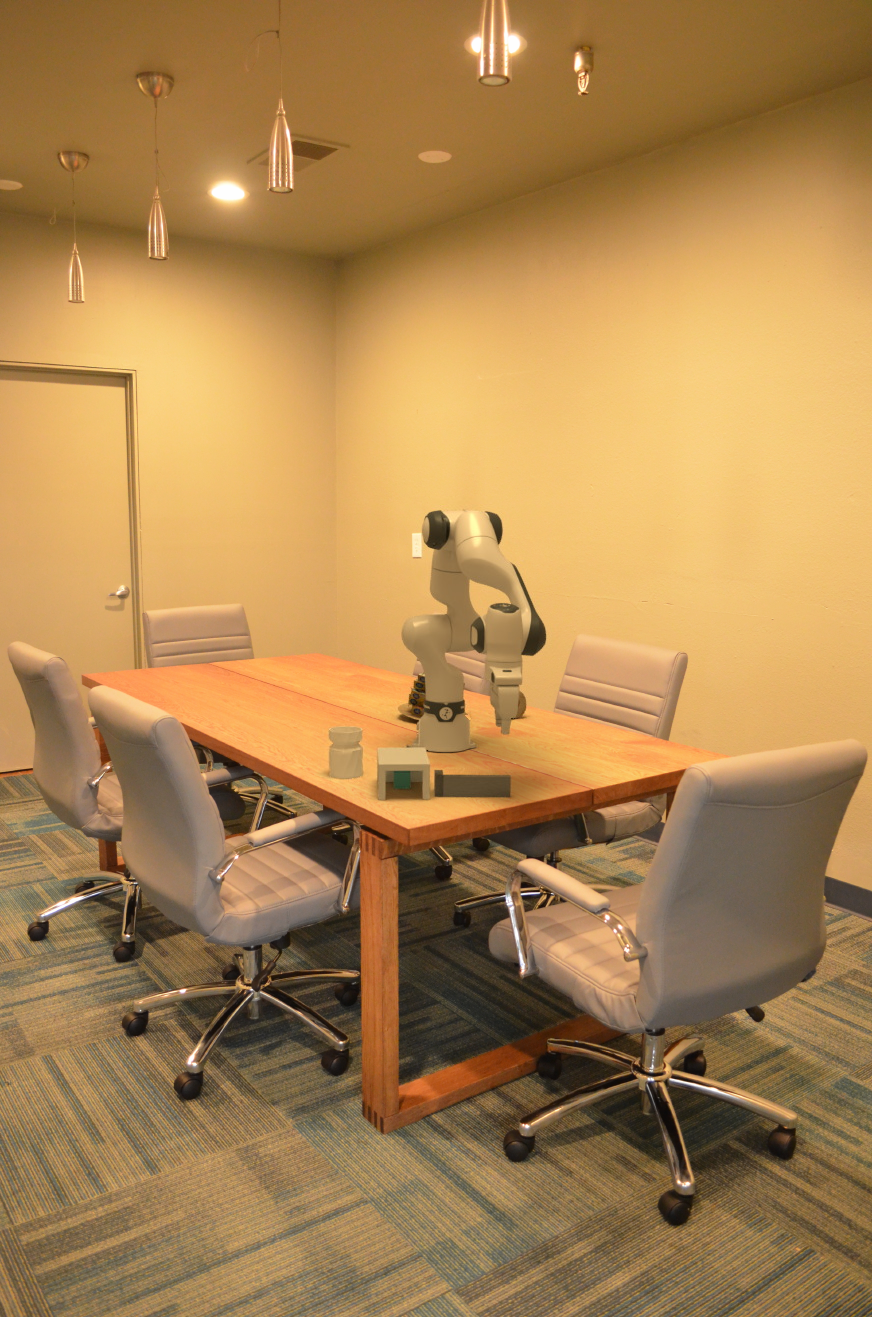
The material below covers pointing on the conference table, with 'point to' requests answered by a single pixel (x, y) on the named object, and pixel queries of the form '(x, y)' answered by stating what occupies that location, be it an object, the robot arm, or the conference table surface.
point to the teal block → (402, 779)
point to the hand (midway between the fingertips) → (502, 730)
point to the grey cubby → (403, 767)
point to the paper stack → (416, 699)
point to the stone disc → (521, 705)
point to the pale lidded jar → (345, 752)
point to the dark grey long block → (471, 785)
